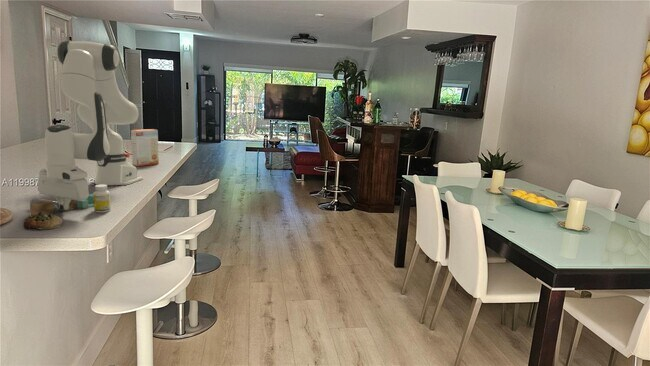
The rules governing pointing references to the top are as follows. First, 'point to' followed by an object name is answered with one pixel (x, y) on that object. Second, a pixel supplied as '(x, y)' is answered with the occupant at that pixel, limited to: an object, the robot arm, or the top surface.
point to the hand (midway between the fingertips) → (63, 208)
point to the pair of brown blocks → (48, 207)
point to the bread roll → (42, 221)
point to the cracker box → (144, 147)
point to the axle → (55, 204)
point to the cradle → (86, 202)
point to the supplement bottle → (101, 198)
